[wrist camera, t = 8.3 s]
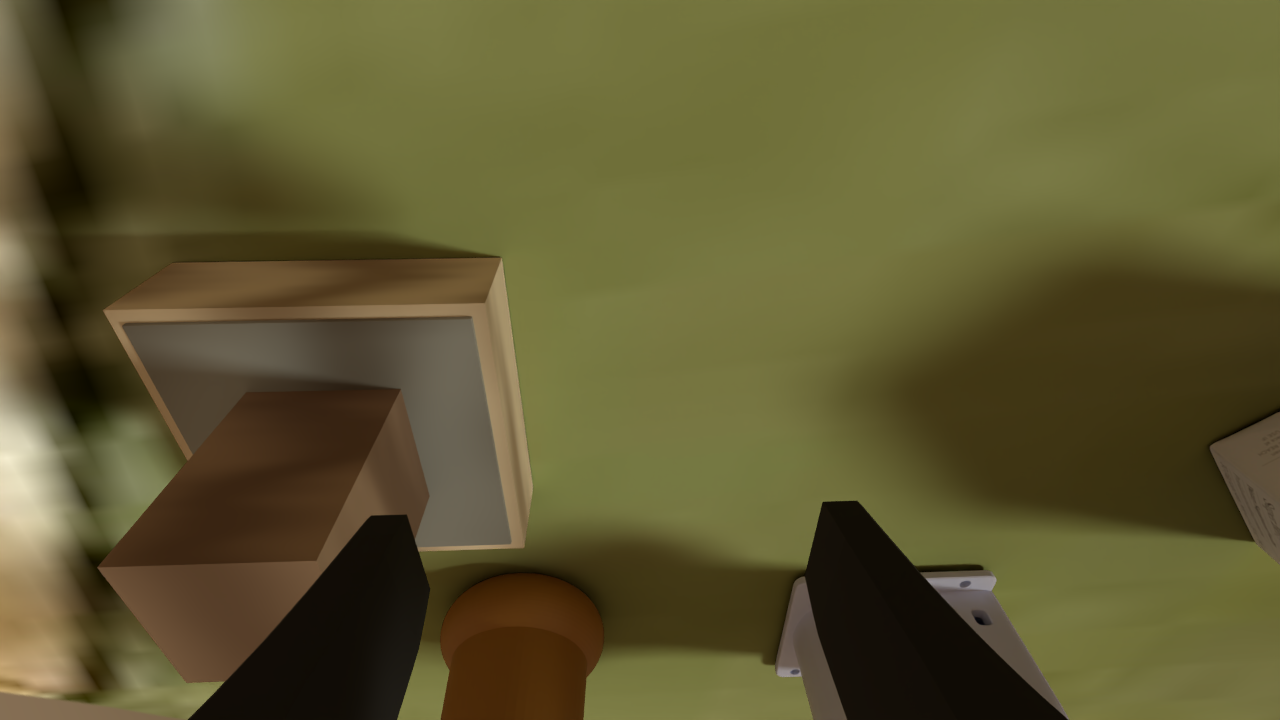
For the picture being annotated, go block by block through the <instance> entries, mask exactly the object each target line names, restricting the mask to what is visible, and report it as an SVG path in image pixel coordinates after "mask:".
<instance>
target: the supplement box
mask: <svg viewBox="0 0 1280 720" xmlns="http://www.w3.org/2000/svg"><path fill="white" fill-rule="evenodd" d="M1210 451H1211V453H1212V455H1213V457H1214V459H1215V462H1216V464H1217V466H1218V468H1219V470H1220V472H1221V474H1222V476H1223V478H1224V480H1225V482H1226V484H1227V486H1228V488H1229V490H1230V492H1231V494H1232V496H1233V498H1234V501H1235V503H1236V505H1237V507H1238V509H1239V511H1240V513H1241V515H1242V517H1243V519H1244V521H1245V523H1246V525H1247V527H1248V529H1249V531H1250V533H1251V535H1252V537H1253V539H1254V541H1255V542H1256V544H1257V545H1258V546H1259V547H1260V548H1261V549H1263V550H1264V551H1265V552H1266V553H1267V554H1268V555H1269V556H1270V557H1272V558H1273V559H1274V560H1275V561H1276V562H1277V563H1278V564H1279V565H1280V412H1278V413H1276V414H1274V415H1272V416H1270V417H1268V418H1266V419H1264V420H1262V421H1260V422H1258V423H1256V424H1254V425H1252V426H1250V427H1248V428H1245V429H1243V430H1241V431H1239V432H1237V433H1235V434H1233V435H1231V436H1229V437H1227V438H1224V439H1222V440H1220V441H1218V442H1215V443H1214V444H1212V445H1211V446H1210Z"/></svg>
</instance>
